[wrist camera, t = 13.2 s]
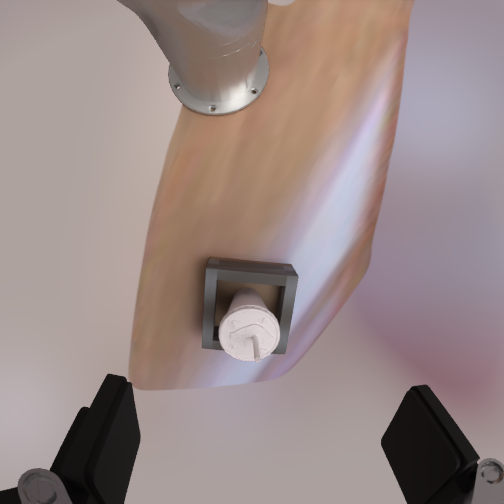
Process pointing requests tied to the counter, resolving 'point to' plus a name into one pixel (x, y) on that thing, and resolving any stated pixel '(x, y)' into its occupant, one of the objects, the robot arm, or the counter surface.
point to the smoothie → (249, 327)
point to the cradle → (247, 276)
